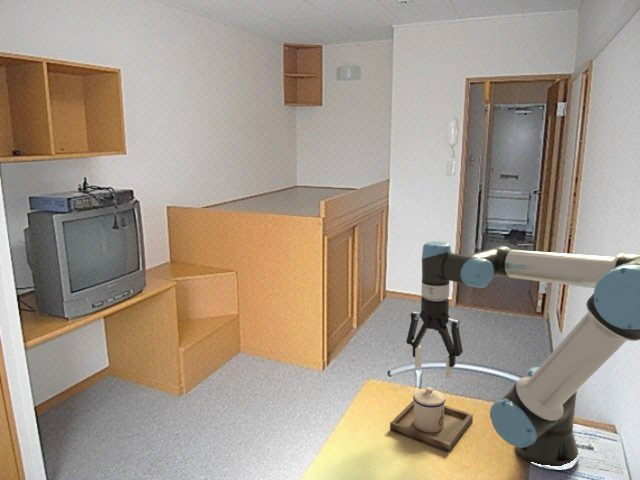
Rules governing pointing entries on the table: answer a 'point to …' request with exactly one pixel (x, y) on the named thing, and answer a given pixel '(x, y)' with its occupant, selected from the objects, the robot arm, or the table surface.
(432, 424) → the teacup with lid
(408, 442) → the table surface
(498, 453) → the table surface
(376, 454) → the table surface
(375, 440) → the table surface
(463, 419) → the walnut tray
